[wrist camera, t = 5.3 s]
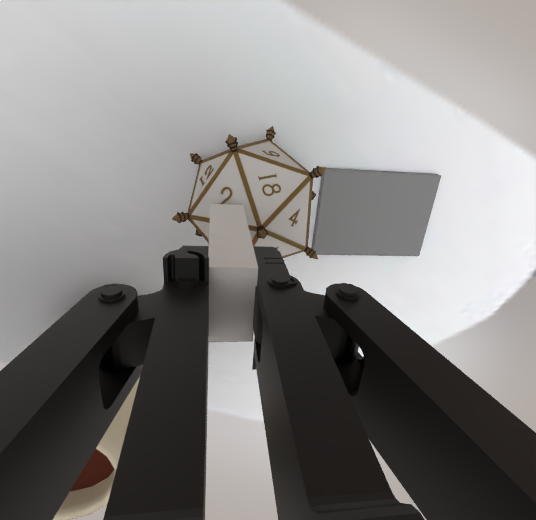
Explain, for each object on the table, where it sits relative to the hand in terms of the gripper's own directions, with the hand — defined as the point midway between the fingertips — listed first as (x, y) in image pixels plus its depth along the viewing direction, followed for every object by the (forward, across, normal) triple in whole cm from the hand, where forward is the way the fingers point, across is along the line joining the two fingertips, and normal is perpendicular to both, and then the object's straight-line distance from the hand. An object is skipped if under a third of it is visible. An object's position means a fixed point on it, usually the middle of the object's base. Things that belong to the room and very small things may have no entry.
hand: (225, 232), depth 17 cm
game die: (+10, +2, 0) cm, 10 cm away
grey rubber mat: (+10, +12, -2) cm, 15 cm away
